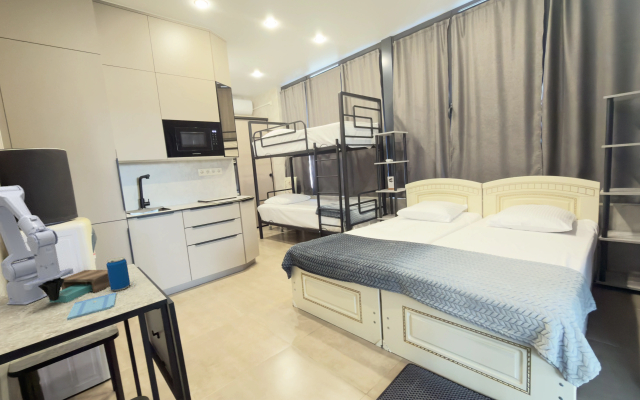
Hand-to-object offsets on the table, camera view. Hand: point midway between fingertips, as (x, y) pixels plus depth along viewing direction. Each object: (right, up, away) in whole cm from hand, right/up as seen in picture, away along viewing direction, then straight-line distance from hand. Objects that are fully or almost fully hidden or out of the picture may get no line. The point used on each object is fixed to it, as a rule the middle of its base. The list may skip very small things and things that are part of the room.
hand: (54, 300), depth 101 cm
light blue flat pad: (+18, -1, -4) cm, 18 cm away
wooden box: (+2, 0, +14) cm, 14 cm away
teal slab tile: (+1, -1, +6) cm, 6 cm away
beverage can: (+17, +1, +10) cm, 20 cm away
